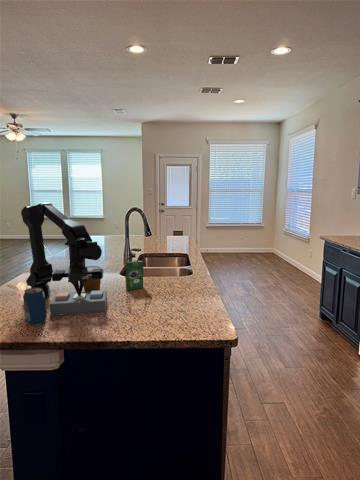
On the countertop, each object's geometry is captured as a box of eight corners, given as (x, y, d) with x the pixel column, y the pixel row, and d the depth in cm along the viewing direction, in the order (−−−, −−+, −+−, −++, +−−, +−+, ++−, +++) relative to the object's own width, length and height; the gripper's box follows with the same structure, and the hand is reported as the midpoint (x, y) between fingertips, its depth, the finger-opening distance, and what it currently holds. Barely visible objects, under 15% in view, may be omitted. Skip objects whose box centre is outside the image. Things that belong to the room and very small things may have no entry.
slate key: (90, 304, 123) (90, 294, 123) (91, 300, 128) (91, 290, 127) (102, 303, 124) (101, 294, 123) (103, 299, 128) (102, 290, 128)
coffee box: (141, 286, 151) (141, 259, 149) (144, 287, 149) (143, 261, 147) (125, 289, 147) (125, 261, 145) (128, 290, 145) (127, 263, 143)
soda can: (49, 317, 116) (47, 286, 114) (42, 326, 109) (39, 293, 107) (30, 318, 116) (27, 286, 114) (22, 326, 109) (18, 293, 107)
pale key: (73, 307, 123) (72, 297, 122) (75, 303, 127) (74, 293, 126) (85, 306, 123) (84, 297, 123) (86, 302, 128) (86, 293, 127)
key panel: (50, 315, 118) (49, 304, 117) (57, 303, 130) (56, 293, 129) (105, 311, 121) (104, 300, 120) (107, 300, 133) (106, 290, 132)
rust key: (56, 306, 121) (55, 296, 121) (58, 302, 126) (57, 292, 125) (67, 305, 122) (67, 295, 121) (69, 301, 126) (69, 292, 126)
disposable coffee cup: (80, 299, 135) (79, 272, 132) (81, 291, 144) (80, 266, 141) (103, 297, 137) (102, 270, 135) (103, 290, 146) (101, 265, 144)
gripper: (46, 263, 112) (49, 304, 115) (100, 261, 115) (102, 301, 118) (53, 256, 123) (56, 294, 126) (102, 254, 126) (104, 291, 129)
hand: (79, 295), depth 124 cm, fingers closed, pressing on pale key
